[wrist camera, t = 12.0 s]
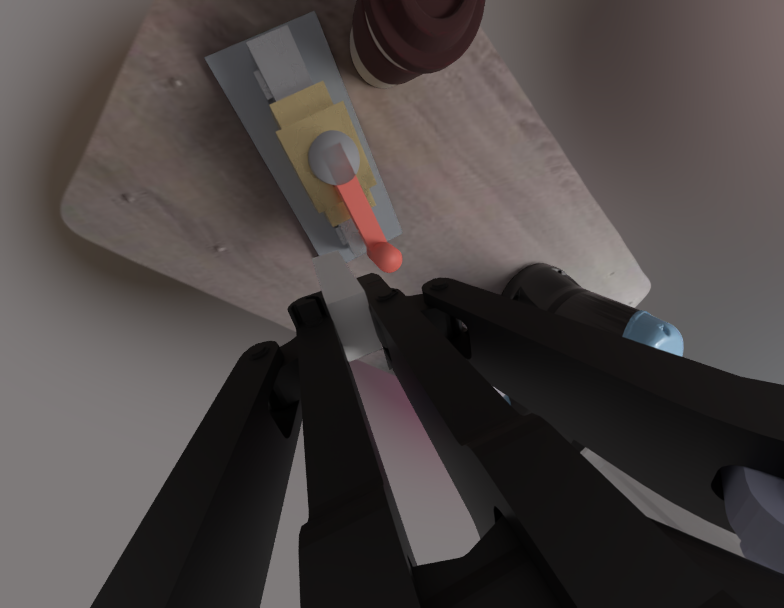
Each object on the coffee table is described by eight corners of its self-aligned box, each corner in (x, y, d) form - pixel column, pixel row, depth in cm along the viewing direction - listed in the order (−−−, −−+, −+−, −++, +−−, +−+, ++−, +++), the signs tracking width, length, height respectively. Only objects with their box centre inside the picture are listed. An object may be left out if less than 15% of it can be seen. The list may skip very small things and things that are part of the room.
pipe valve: (383, 231, 41) (400, 241, 35) (339, 254, 40) (349, 269, 34) (300, 38, 30) (303, 4, 24) (237, 65, 29) (225, 37, 23)
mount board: (400, 231, 43) (402, 233, 42) (327, 270, 41) (328, 272, 41) (313, 15, 30) (314, 10, 29) (206, 60, 29) (204, 57, 28)
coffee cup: (352, 111, 35) (392, 75, 22) (323, 0, 30) (351, -130, 17) (426, 92, 36) (503, 48, 23) (410, -15, 32) (495, -145, 19)
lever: (298, 147, 27) (301, 141, 22) (339, 125, 28) (350, 116, 23) (363, 266, 34) (376, 281, 29) (395, 247, 34) (413, 260, 30)
